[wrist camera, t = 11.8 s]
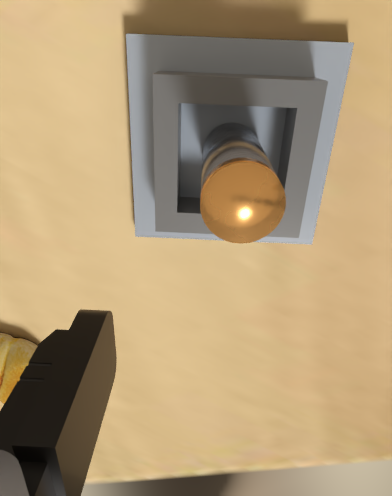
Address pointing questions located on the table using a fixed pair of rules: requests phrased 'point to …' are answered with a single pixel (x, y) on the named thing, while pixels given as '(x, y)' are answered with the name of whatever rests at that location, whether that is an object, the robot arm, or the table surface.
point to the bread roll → (13, 362)
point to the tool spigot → (239, 186)
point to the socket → (230, 110)
